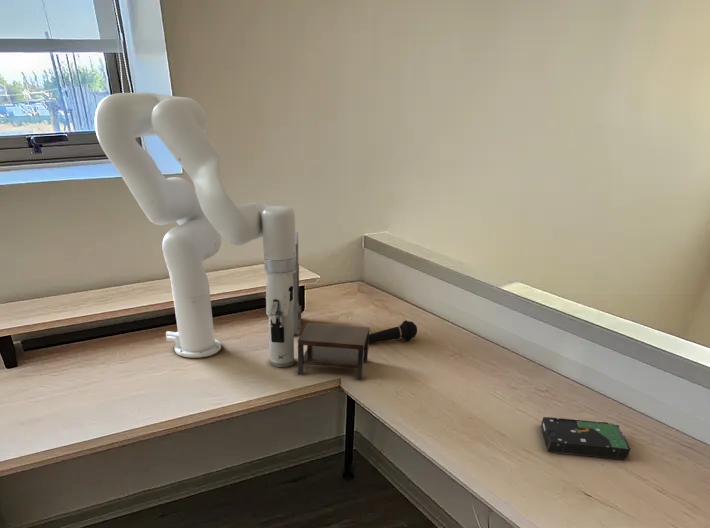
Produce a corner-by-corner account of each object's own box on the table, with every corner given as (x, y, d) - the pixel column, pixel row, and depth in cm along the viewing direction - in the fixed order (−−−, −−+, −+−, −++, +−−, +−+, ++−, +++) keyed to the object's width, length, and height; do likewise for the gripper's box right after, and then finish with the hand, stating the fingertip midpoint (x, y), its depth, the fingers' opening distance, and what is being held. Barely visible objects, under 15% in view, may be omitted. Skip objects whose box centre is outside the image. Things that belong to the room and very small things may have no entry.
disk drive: (546, 454, 110) (627, 460, 107) (550, 441, 108) (632, 448, 106) (539, 427, 118) (614, 433, 116) (542, 416, 117) (618, 421, 114)
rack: (298, 374, 140) (297, 340, 134) (308, 355, 149) (308, 322, 144) (361, 380, 137) (363, 345, 132) (367, 360, 146) (369, 327, 141)
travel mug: (285, 370, 142) (283, 290, 130) (265, 363, 145) (261, 285, 133) (300, 361, 146) (299, 284, 134) (280, 355, 149) (278, 279, 137)
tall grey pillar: (300, 335, 161) (300, 243, 146) (279, 335, 161) (277, 243, 147) (301, 318, 172) (300, 232, 158) (281, 318, 172) (279, 232, 158)
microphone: (350, 357, 155) (418, 343, 157) (351, 341, 151) (421, 326, 152) (345, 345, 158) (411, 330, 160) (345, 328, 154) (414, 314, 156)
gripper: (274, 255, 139) (277, 322, 148) (254, 274, 125) (259, 346, 135) (303, 256, 137) (304, 324, 147) (286, 275, 123) (289, 349, 133)
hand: (282, 334), depth 141 cm, fingers open, 9 cm apart
